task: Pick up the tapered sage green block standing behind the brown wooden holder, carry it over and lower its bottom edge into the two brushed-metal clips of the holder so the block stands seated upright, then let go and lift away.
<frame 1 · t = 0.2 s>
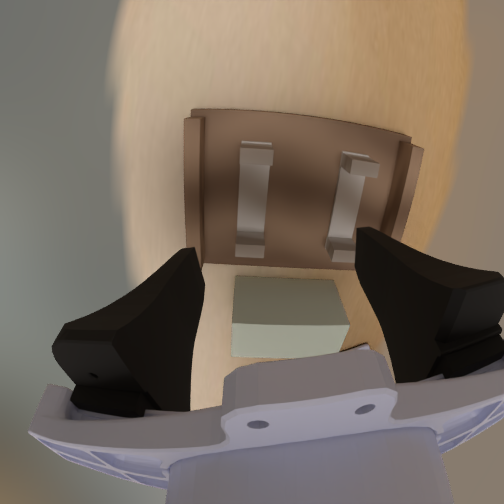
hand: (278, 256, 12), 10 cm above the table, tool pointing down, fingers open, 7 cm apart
brown wooden holder: (298, 193, 21), on the table
tapered sage green block: (282, 294, 26), on the table
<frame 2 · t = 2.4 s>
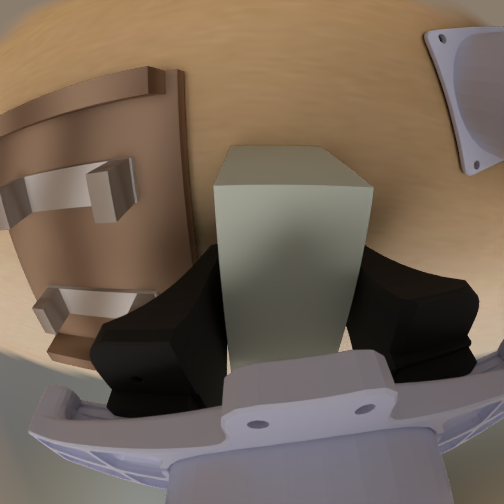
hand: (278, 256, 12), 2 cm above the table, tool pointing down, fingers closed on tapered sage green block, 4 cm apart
brown wooden holder: (93, 238, 14), on the table
tapered sage green block: (275, 236, 14), on the table, touching gripper
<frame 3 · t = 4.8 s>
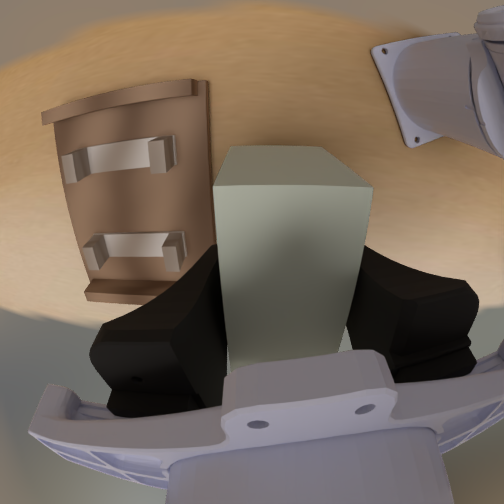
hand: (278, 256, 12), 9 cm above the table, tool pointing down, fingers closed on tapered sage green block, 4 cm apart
brown wooden holder: (135, 195, 20), on the table
tapered sage green block: (275, 236, 14), point 7 cm above the table, touching gripper
when the fingers open (4 cm above the table, at t = 7.3 s): tapered sage green block stays where it is, resting on brown wooden holder.
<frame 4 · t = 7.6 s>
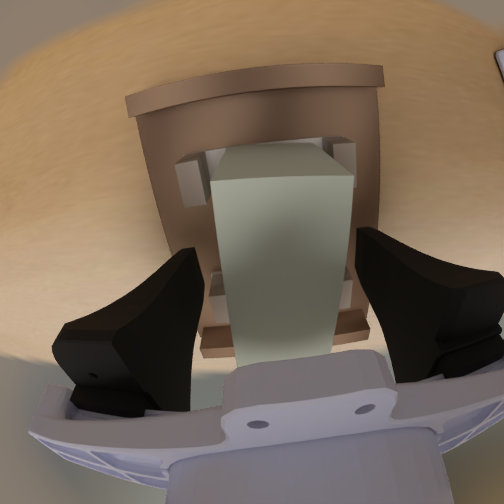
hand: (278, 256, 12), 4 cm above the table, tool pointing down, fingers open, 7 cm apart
brown wooden holder: (272, 216, 16), on the table
tapered sage green block: (273, 228, 15), point 1 cm above the table, touching brown wooden holder
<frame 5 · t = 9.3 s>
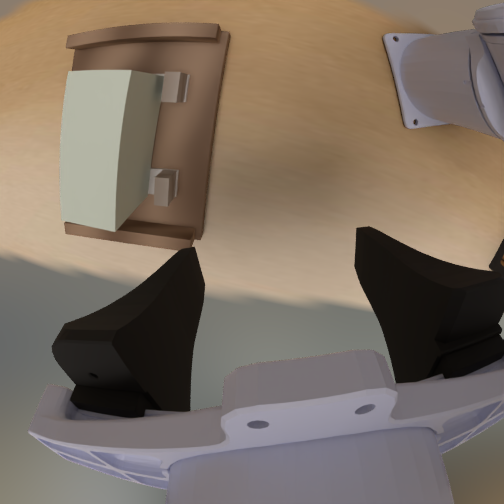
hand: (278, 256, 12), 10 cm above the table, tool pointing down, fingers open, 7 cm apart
brown wooden holder: (137, 131, 19), on the table
tapered sage green block: (129, 134, 18), point 1 cm above the table, touching brown wooden holder
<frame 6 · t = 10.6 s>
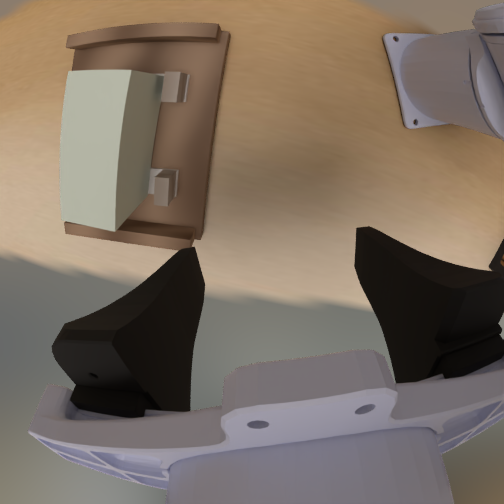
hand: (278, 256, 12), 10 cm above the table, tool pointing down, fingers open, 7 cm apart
brown wooden holder: (137, 131, 19), on the table
tapered sage green block: (129, 134, 18), point 1 cm above the table, touching brown wooden holder
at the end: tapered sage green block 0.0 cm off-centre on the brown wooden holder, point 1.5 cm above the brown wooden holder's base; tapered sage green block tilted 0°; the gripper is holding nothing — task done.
